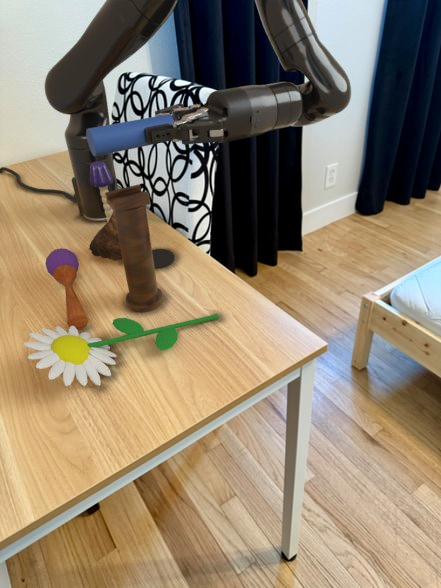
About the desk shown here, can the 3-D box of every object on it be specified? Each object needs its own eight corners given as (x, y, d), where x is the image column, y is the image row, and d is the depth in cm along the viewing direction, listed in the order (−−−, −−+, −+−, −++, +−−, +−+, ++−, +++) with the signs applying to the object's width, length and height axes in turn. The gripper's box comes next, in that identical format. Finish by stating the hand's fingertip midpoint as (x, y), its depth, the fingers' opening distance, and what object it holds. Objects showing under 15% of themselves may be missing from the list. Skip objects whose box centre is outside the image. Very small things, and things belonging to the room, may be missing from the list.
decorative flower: (200, 307, 79) (23, 345, 66) (202, 286, 76) (18, 322, 63) (232, 353, 70) (36, 408, 57) (237, 331, 67) (31, 384, 54)
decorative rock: (152, 251, 90) (145, 204, 84) (141, 267, 86) (133, 219, 79) (100, 246, 93) (89, 200, 86) (86, 261, 88) (74, 213, 82)
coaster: (134, 265, 86) (134, 264, 86) (150, 248, 92) (149, 246, 91) (166, 271, 84) (165, 269, 84) (180, 253, 90) (180, 251, 89)
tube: (97, 159, 58) (92, 132, 56) (89, 152, 60) (84, 125, 58) (177, 143, 63) (175, 117, 60) (166, 136, 65) (164, 111, 63)
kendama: (52, 317, 68) (38, 249, 81) (68, 340, 72) (52, 272, 86) (88, 302, 69) (68, 238, 83) (101, 326, 73) (80, 261, 87)
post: (135, 317, 74) (113, 205, 61) (122, 297, 78) (99, 190, 65) (168, 304, 76) (155, 195, 64) (154, 286, 81) (138, 180, 68)
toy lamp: (118, 241, 94) (104, 168, 84) (98, 240, 95) (82, 167, 85) (126, 231, 98) (113, 159, 88) (107, 229, 99) (92, 158, 88)
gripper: (217, 79, 70) (117, 94, 63) (269, 96, 60) (157, 116, 54) (218, 126, 75) (125, 145, 68) (266, 149, 65) (163, 174, 58)
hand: (140, 132), depth 61 cm, fingers closed on tube, 3 cm apart
